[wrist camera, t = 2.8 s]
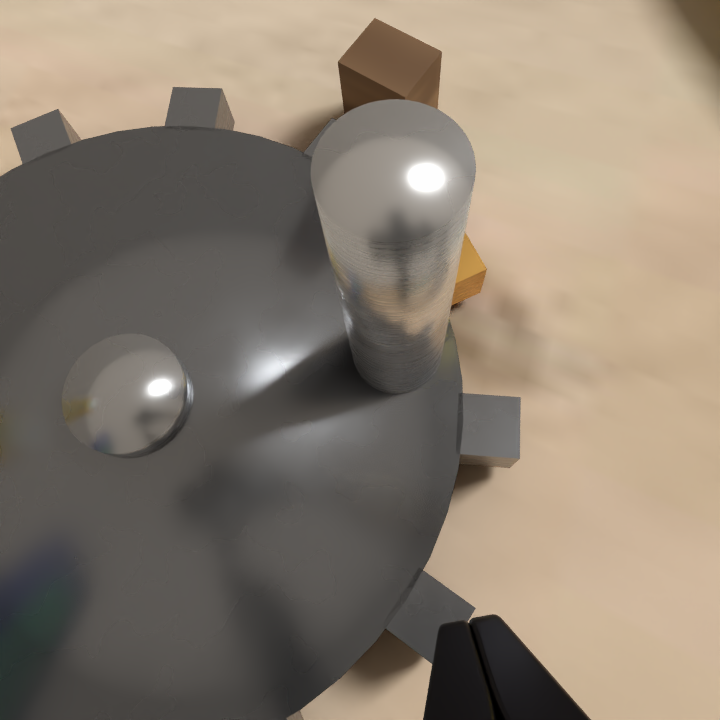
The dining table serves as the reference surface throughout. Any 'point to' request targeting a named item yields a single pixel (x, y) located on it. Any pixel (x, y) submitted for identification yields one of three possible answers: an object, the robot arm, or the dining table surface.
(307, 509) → the sprocket
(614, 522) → the dining table surface
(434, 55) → the brown rectangular block
